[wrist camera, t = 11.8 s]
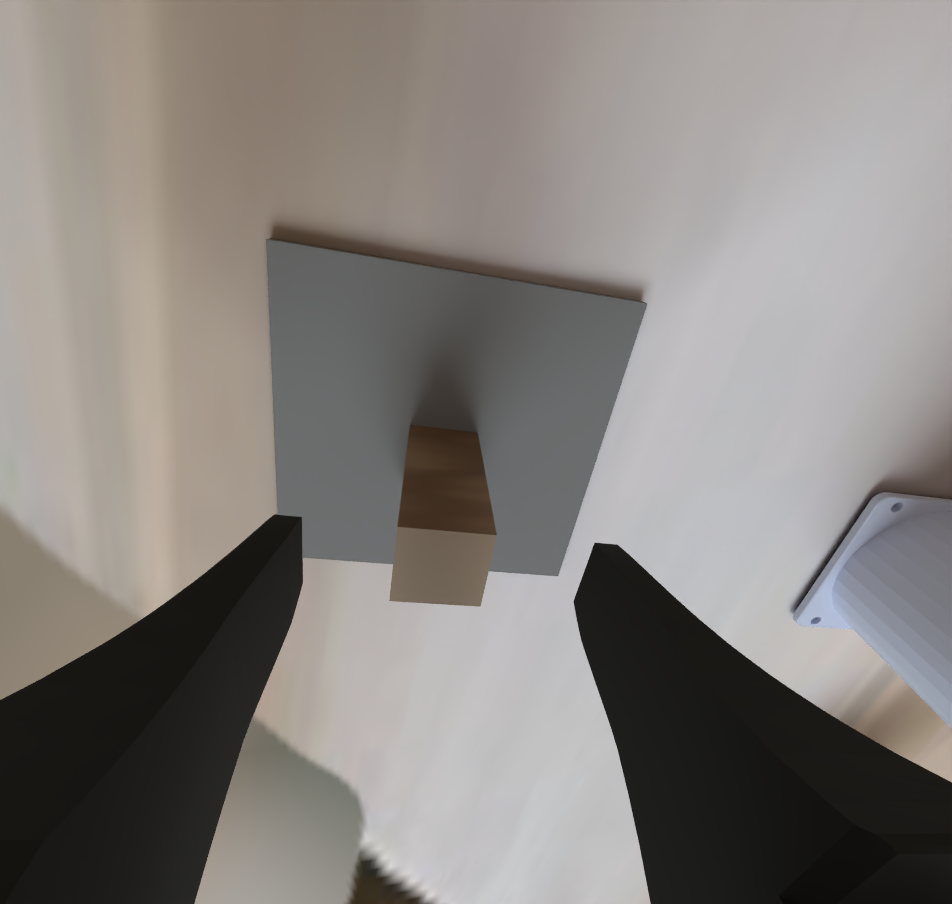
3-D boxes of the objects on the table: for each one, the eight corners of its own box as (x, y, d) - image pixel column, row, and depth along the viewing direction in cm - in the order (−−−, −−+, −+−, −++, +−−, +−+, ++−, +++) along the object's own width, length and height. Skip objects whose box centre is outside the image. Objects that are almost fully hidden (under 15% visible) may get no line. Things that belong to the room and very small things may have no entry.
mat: (642, 301, 15) (647, 303, 15) (556, 569, 21) (557, 576, 20) (270, 238, 14) (266, 239, 13) (282, 549, 19) (279, 555, 19)
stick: (477, 432, 17) (496, 535, 11) (467, 489, 18) (480, 606, 13) (409, 424, 16) (397, 526, 11) (403, 483, 18) (389, 600, 12)
